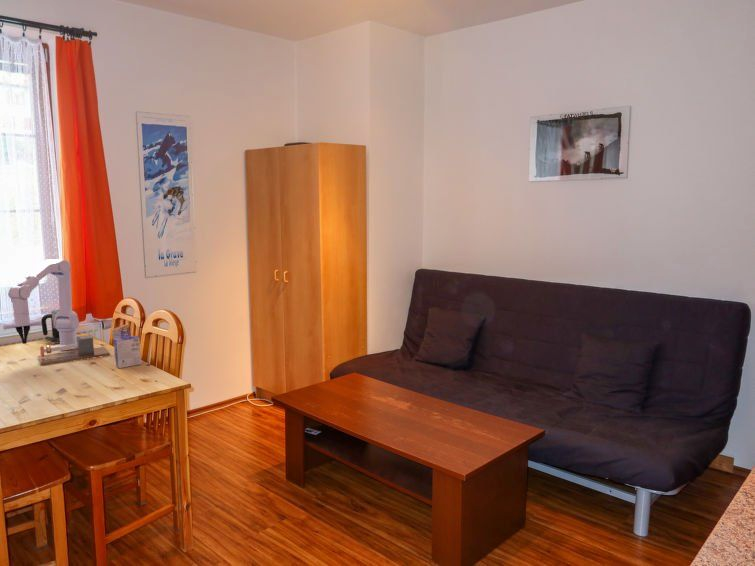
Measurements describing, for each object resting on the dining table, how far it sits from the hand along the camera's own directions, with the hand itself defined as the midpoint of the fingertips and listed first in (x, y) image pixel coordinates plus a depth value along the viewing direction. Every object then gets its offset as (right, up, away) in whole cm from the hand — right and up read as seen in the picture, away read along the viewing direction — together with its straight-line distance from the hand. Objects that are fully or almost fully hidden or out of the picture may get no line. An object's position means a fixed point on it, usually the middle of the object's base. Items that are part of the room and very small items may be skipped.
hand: (24, 343), depth 263 cm
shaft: (+13, -5, +9) cm, 17 cm away
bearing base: (+16, -8, +12) cm, 21 cm away
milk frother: (-8, -3, +44) cm, 44 cm away
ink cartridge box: (+47, -10, -2) cm, 48 cm away
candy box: (+41, -8, +6) cm, 43 cm away
